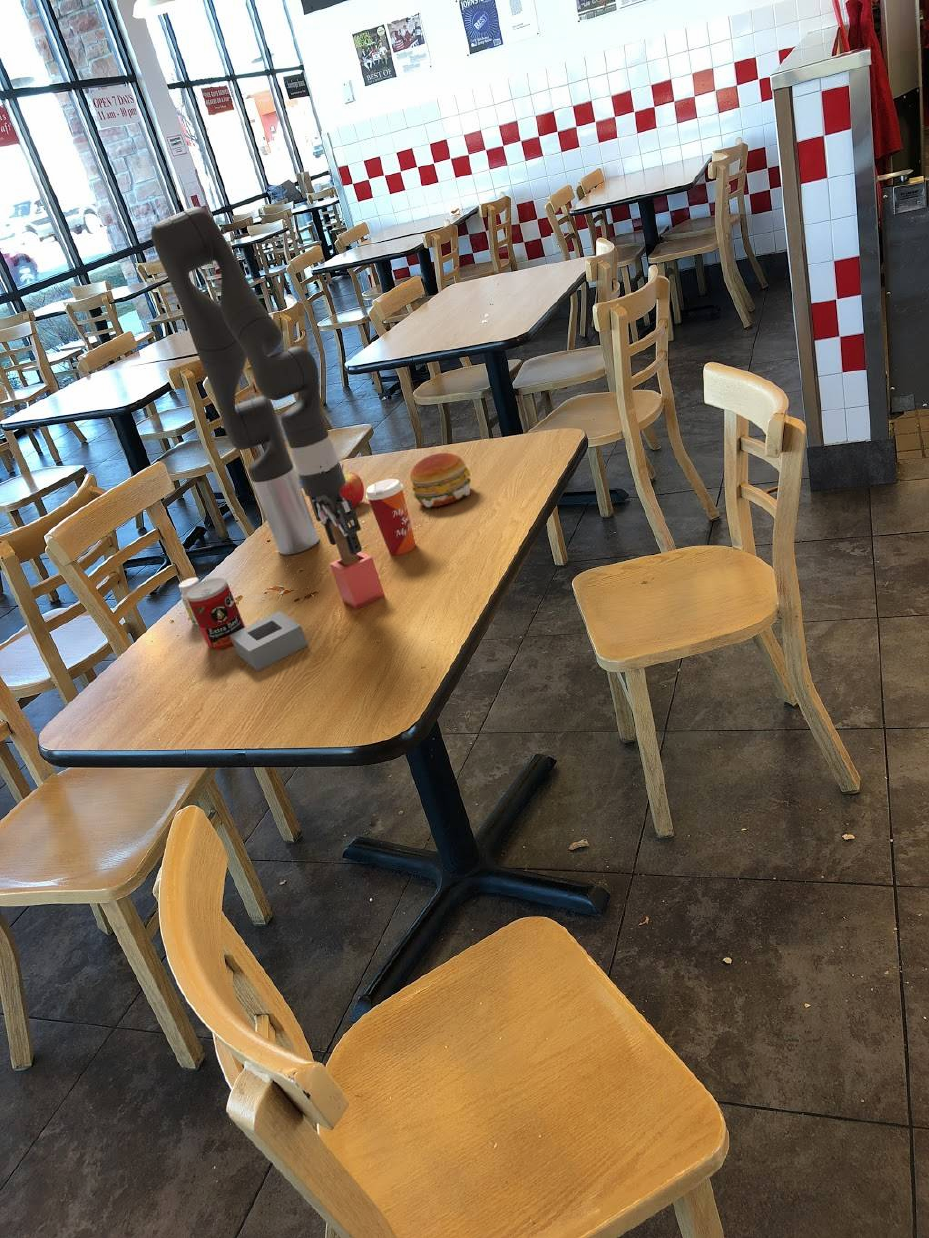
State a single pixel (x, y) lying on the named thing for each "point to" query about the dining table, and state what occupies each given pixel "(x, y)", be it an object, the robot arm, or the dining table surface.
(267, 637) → the holder
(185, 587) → the supplement bottle
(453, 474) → the burger
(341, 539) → the dowel
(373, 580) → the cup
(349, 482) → the apple
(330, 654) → the dining table surface
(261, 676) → the dining table surface
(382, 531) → the paper cup
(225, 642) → the canned food
